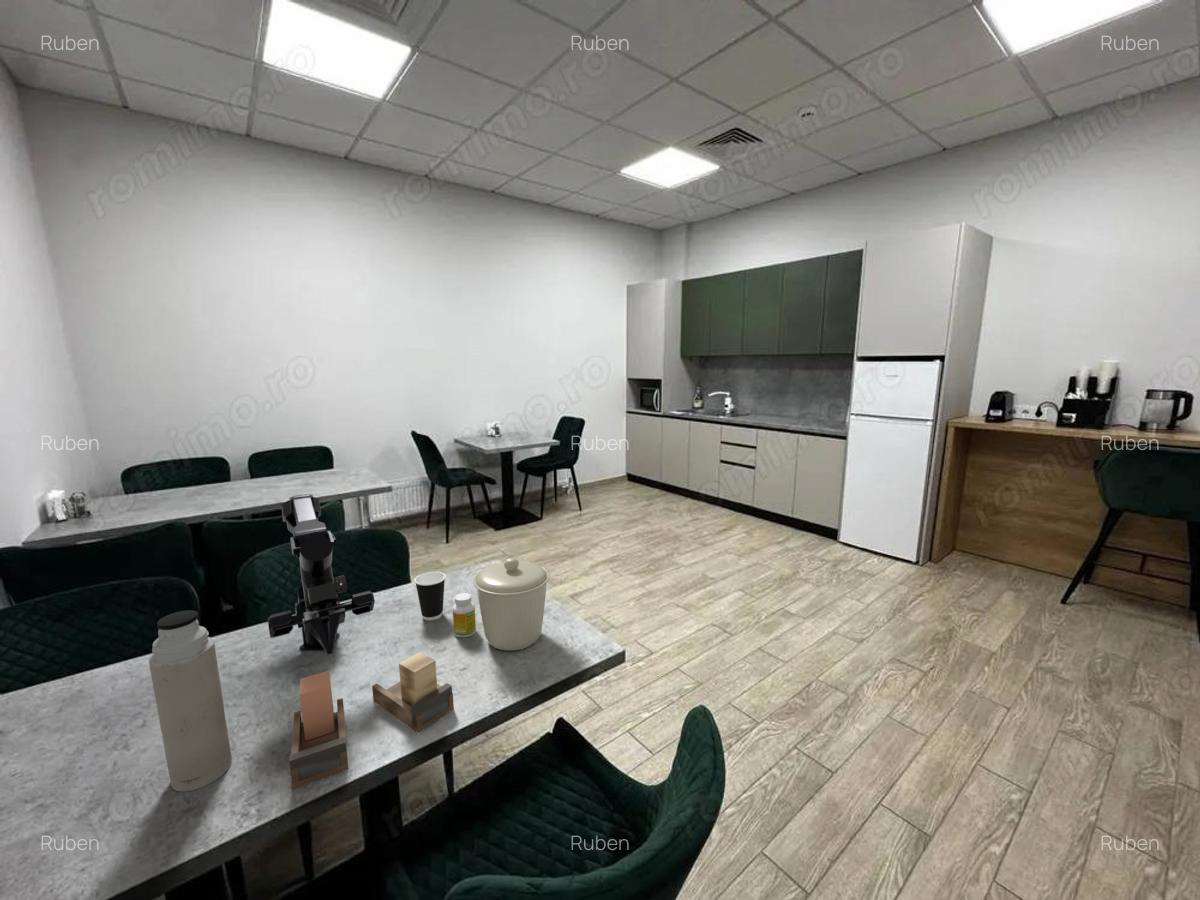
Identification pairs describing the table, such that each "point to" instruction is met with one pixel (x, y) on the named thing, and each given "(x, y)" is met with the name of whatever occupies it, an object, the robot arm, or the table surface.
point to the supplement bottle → (464, 616)
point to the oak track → (415, 705)
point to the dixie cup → (431, 594)
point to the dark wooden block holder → (318, 751)
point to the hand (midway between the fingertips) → (330, 654)
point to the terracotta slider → (317, 705)
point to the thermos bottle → (189, 702)
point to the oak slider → (417, 677)
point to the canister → (512, 602)
